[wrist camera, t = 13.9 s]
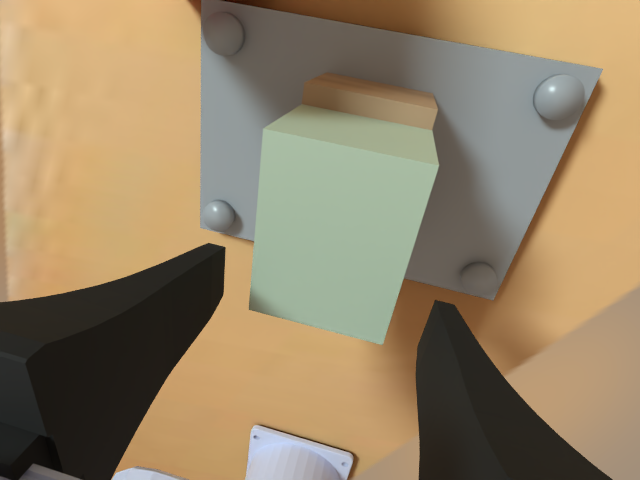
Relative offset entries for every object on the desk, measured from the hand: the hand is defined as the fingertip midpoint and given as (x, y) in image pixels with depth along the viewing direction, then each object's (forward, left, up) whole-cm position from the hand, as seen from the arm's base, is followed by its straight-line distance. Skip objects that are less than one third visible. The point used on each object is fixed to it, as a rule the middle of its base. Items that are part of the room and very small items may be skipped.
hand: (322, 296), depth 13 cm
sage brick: (+2, 0, -3) cm, 4 cm away
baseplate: (+3, 0, -8) cm, 9 cm away
